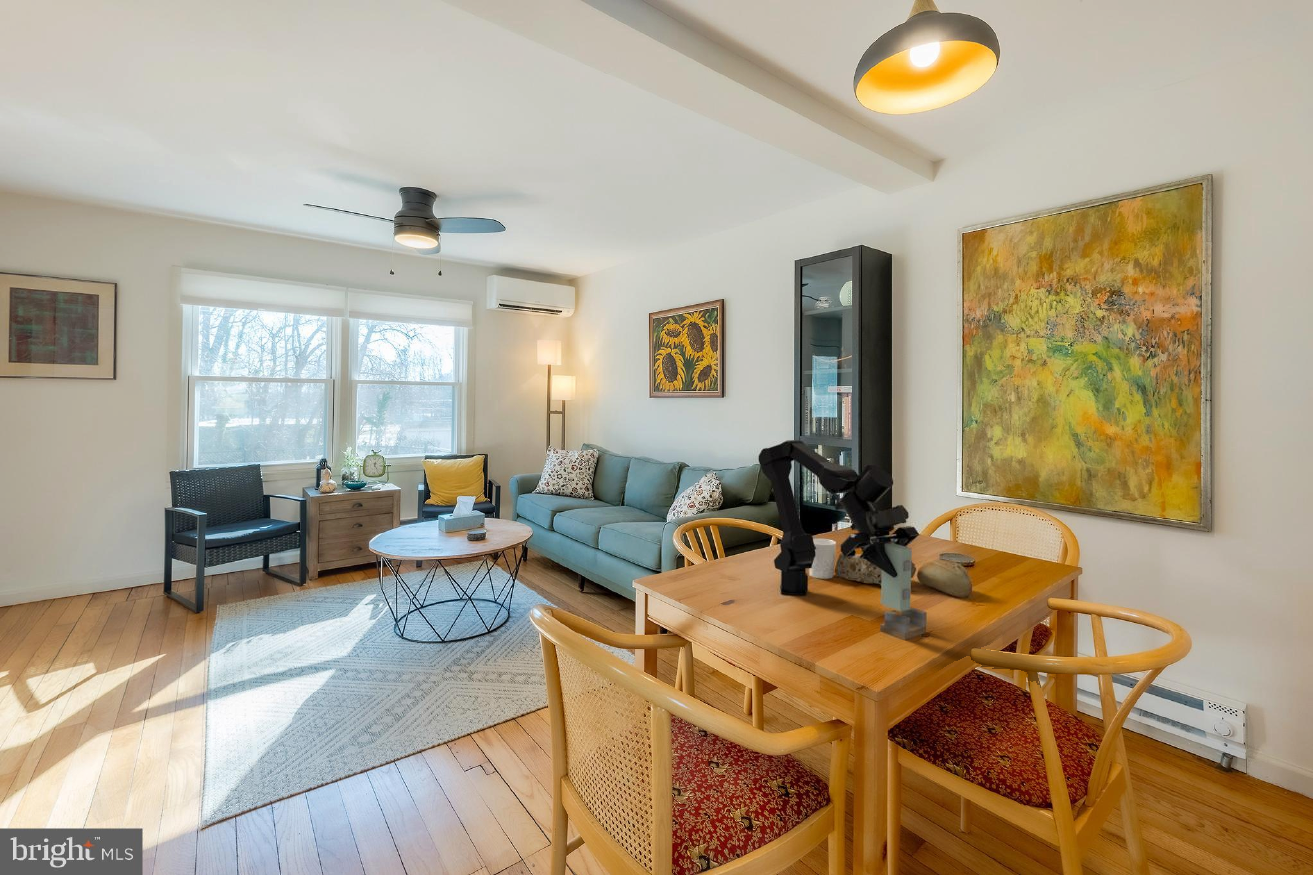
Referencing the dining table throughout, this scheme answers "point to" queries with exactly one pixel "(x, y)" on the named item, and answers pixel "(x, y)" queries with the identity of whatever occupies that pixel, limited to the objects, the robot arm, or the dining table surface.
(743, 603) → the dining table surface
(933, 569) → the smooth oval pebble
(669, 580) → the dining table surface
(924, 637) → the dining table surface
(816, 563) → the white cup
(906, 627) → the hinge jig
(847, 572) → the rock
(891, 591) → the pale green tall block
